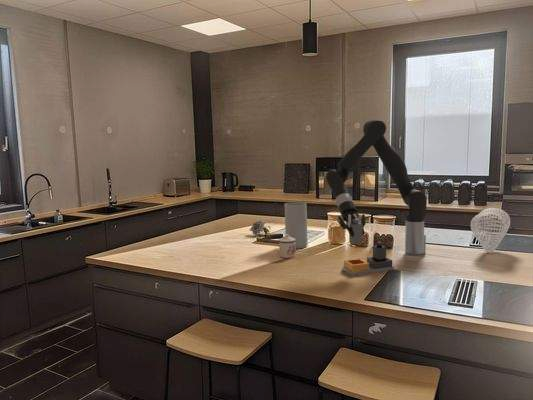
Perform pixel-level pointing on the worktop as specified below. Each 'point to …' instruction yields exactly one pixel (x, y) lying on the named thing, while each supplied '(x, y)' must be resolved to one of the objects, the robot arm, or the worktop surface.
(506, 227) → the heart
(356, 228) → the plug
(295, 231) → the cylinder vase
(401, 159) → the robot arm
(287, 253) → the teacup with lid
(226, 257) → the worktop surface
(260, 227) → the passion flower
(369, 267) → the multicoloured piece
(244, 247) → the worktop surface
